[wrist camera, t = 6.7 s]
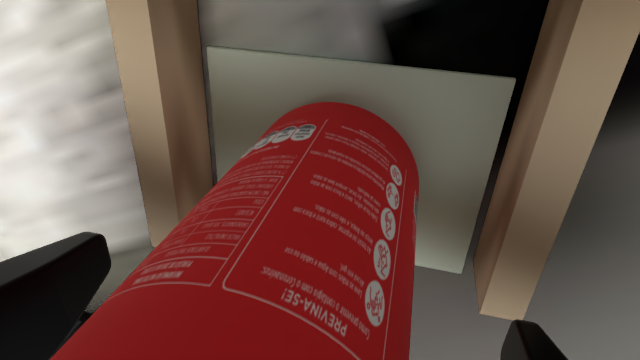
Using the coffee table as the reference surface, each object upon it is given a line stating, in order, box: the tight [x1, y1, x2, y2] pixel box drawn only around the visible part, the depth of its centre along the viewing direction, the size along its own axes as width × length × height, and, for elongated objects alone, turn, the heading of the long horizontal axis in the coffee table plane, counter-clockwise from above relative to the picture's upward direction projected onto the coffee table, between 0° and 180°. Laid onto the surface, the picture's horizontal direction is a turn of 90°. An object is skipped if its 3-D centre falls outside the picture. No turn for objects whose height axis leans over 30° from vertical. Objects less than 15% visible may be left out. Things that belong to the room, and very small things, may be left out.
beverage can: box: [50, 102, 419, 360], centre depth 9 cm, size 5×5×12 cm
